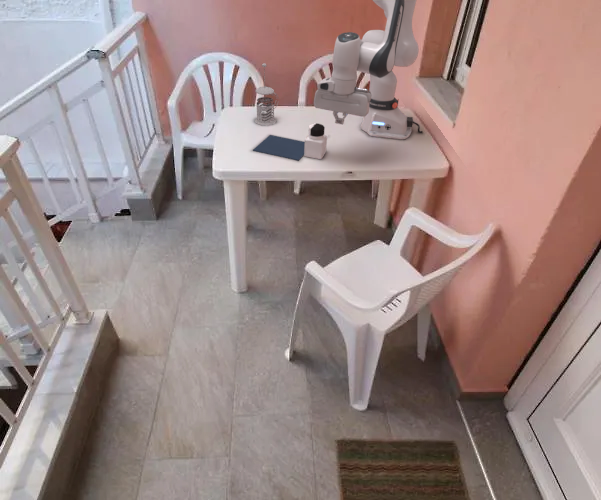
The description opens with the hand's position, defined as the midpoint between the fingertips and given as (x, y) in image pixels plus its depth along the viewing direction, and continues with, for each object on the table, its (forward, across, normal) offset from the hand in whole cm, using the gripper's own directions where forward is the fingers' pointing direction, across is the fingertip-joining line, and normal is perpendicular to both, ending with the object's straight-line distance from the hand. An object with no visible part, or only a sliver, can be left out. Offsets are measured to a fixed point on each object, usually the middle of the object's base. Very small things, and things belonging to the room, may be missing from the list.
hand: (339, 123), depth 153 cm
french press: (+15, +41, -22) cm, 49 cm away
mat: (+15, +23, 0) cm, 27 cm away
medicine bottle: (+15, +9, 0) cm, 17 cm away
